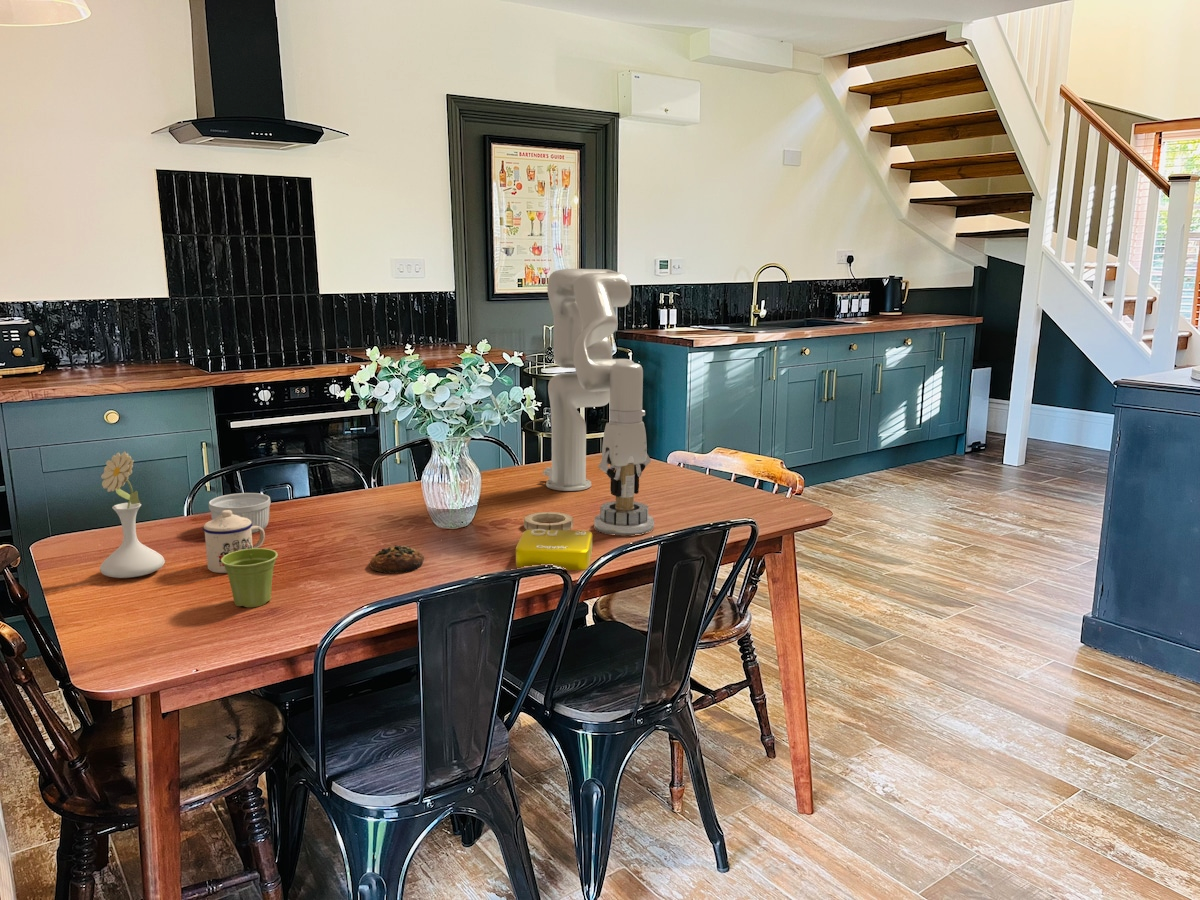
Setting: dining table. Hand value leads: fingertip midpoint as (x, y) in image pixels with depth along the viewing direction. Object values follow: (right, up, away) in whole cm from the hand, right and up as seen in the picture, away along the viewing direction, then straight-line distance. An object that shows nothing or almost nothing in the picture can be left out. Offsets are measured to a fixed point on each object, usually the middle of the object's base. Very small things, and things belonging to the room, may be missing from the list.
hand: (624, 493), depth 206 cm
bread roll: (-47, -14, -26) cm, 55 cm away
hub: (0, -8, +2) cm, 8 cm away
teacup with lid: (-79, -13, -27) cm, 85 cm away
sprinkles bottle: (0, -4, +1) cm, 4 cm away
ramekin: (-89, -8, -2) cm, 89 cm away
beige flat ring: (-18, -8, +2) cm, 20 cm away
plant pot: (-69, -18, -46) cm, 85 cm away
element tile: (-15, -13, -20) cm, 28 cm away
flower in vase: (-97, -15, -33) cm, 104 cm away
